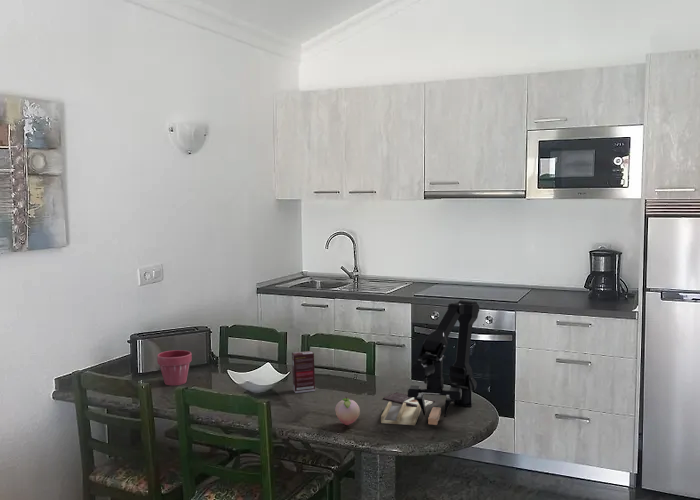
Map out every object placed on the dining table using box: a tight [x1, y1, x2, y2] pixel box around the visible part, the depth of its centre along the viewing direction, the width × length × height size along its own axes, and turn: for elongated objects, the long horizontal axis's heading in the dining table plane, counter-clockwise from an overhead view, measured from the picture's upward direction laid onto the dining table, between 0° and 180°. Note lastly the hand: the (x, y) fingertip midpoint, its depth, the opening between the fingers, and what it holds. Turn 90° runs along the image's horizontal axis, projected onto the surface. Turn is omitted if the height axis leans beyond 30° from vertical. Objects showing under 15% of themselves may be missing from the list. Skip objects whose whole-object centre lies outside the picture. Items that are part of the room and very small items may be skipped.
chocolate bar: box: [382, 392, 436, 408], centre depth 262 cm, size 9×1×18 cm
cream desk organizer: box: [380, 401, 422, 426], centre depth 244 cm, size 12×16×2 cm
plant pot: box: [156, 349, 193, 386], centre depth 290 cm, size 14×14×13 cm
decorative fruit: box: [334, 397, 361, 426], centre depth 236 cm, size 9×8×10 cm
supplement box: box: [291, 350, 316, 394], centre depth 276 cm, size 9×5×16 cm, turn 106°
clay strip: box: [427, 406, 442, 426], centre depth 241 cm, size 3×12×2 cm, turn 166°
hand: (434, 415), depth 241 cm, fingers open, 7 cm apart
